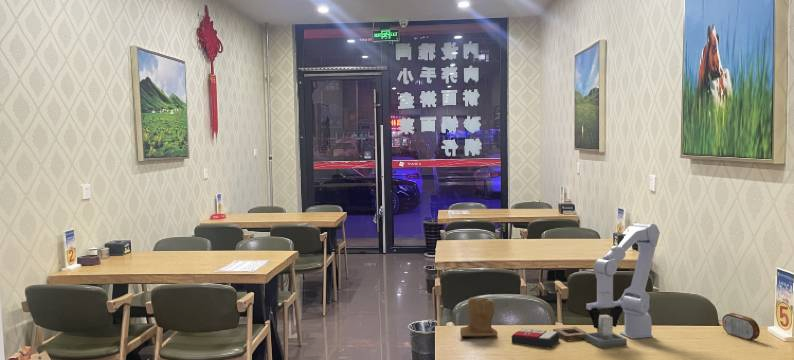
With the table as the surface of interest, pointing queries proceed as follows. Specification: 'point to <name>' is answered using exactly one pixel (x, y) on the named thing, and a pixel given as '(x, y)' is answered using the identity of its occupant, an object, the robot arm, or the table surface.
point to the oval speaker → (740, 326)
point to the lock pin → (605, 328)
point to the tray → (614, 342)
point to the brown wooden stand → (479, 318)
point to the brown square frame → (570, 333)
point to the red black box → (536, 337)
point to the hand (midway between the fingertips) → (605, 327)
